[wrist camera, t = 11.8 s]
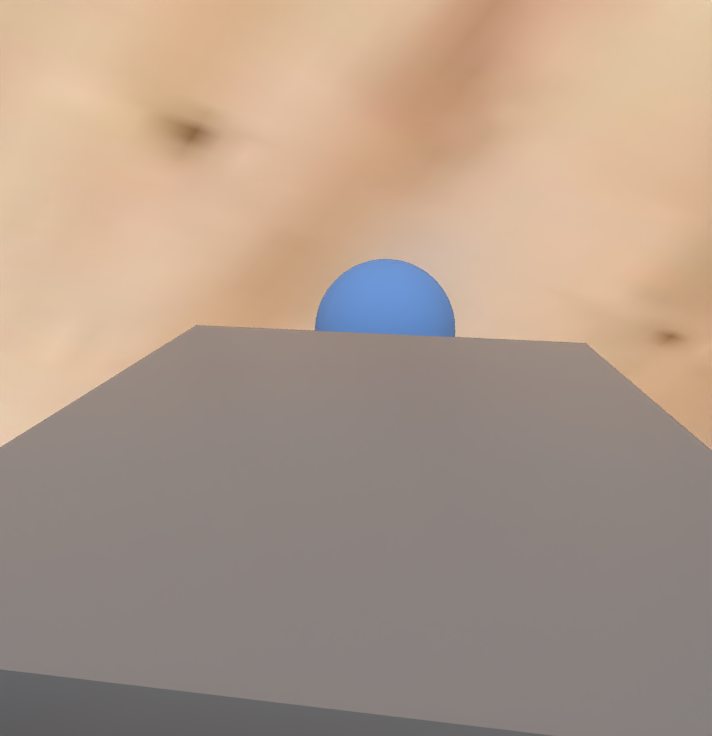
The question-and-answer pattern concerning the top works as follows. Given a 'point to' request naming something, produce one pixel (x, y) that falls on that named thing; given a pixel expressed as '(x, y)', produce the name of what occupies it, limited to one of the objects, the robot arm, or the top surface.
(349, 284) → the ball
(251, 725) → the gray rectangular platform
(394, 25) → the top surface
